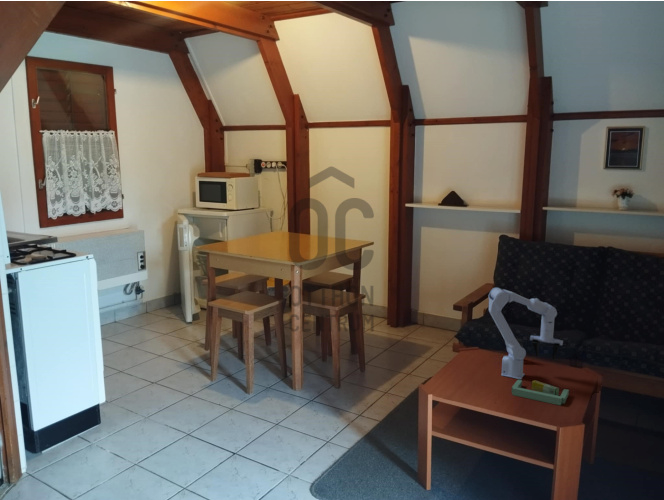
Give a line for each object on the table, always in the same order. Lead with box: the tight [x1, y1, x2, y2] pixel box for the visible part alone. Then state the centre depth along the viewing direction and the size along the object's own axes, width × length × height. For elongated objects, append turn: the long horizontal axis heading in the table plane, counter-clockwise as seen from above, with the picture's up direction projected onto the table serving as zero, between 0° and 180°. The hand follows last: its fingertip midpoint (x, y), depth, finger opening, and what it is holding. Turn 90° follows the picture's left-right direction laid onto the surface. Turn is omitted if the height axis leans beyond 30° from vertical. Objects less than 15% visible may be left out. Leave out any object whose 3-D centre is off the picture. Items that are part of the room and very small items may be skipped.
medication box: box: [531, 379, 560, 396], centre depth 246 cm, size 12×3×4 cm, turn 38°
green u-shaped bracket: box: [511, 379, 570, 406], centre depth 243 cm, size 22×14×3 cm, turn 58°
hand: (545, 356), depth 265 cm, fingers open, 7 cm apart
